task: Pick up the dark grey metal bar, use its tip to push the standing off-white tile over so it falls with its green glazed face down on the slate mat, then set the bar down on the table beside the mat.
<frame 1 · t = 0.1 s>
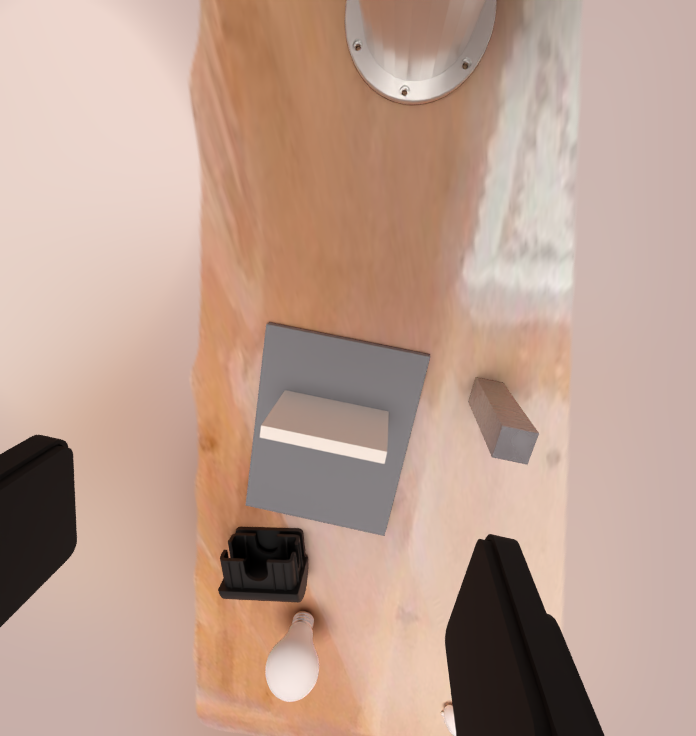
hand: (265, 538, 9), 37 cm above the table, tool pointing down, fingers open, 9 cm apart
tile: (335, 407, 47), point 1 cm above the table, touching mat
light bulb: (305, 612, 59), on the table
rabbit figurine: (460, 699, 62), on the table
metal bar: (485, 392, 46), on the table
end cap: (272, 547, 56), on the table
mat: (330, 433, 50), on the table
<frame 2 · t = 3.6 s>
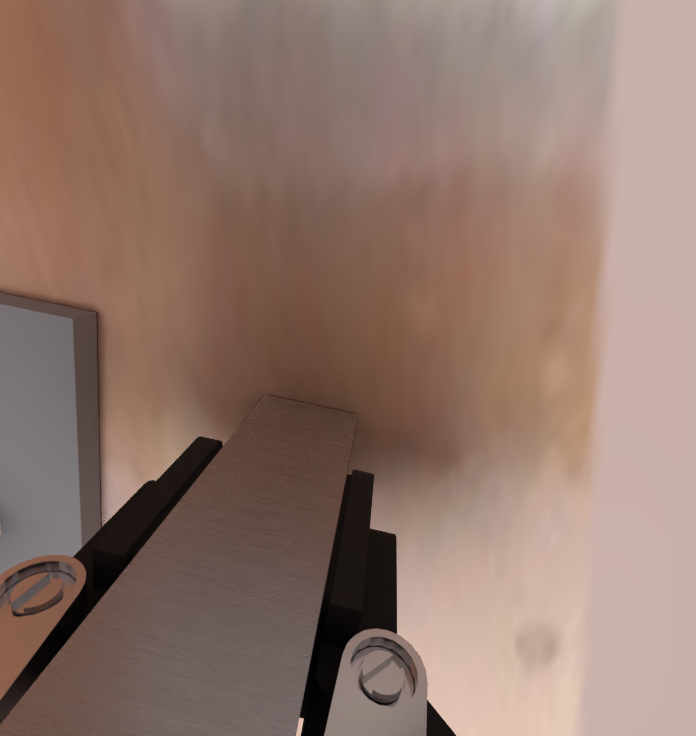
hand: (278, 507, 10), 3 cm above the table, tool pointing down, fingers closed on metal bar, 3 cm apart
metal bar: (304, 446, 13), on the table, touching gripper
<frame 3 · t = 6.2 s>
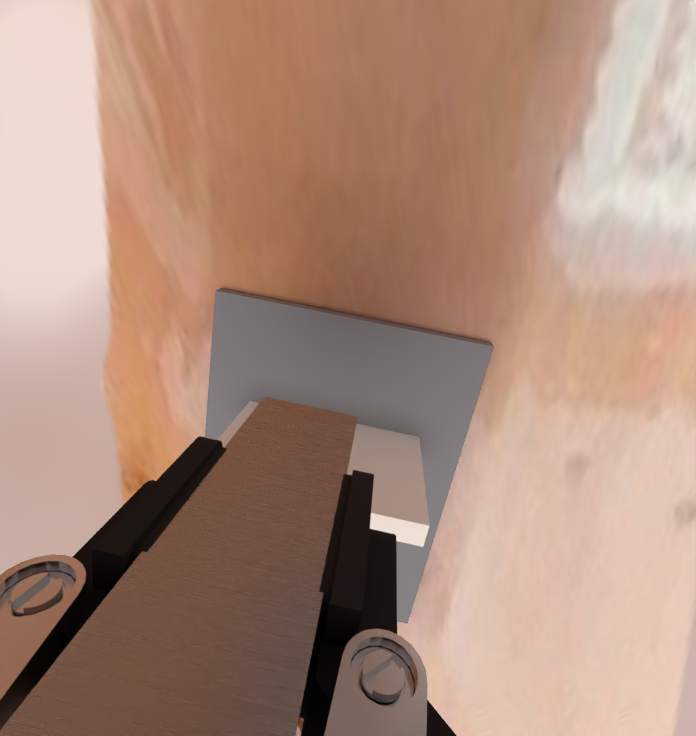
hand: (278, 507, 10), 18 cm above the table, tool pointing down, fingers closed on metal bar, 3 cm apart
tile: (331, 428, 29), point 1 cm above the table, touching mat
light bulb: (288, 717, 41), on the table
metal bar: (304, 448, 13), point 15 cm above the table, touching gripper
mat: (325, 469, 31), on the table
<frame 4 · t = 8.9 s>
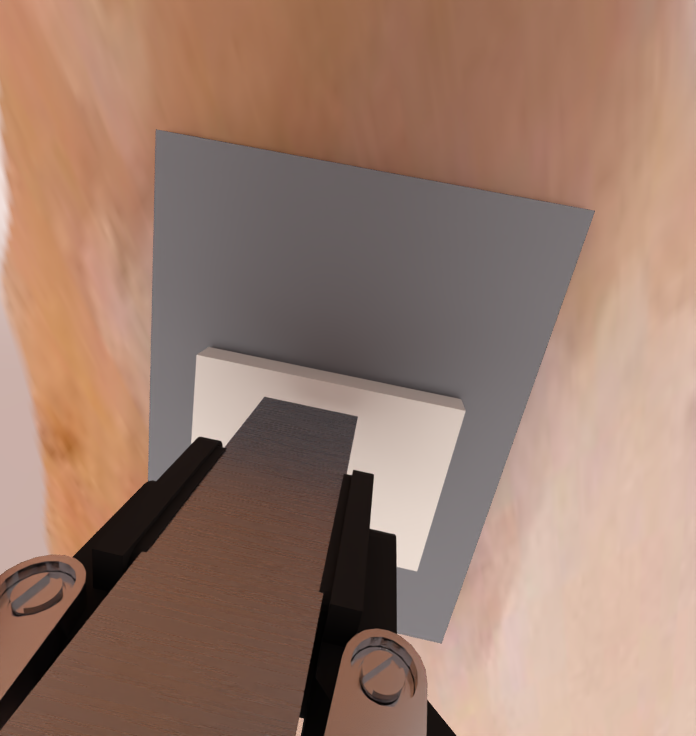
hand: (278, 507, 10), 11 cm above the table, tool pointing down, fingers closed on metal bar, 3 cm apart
tile: (331, 376, 19), point 2 cm above the table, tilted 90°, touching mat
metal bar: (304, 448, 13), point 8 cm above the table, touching gripper
mat: (326, 422, 22), on the table
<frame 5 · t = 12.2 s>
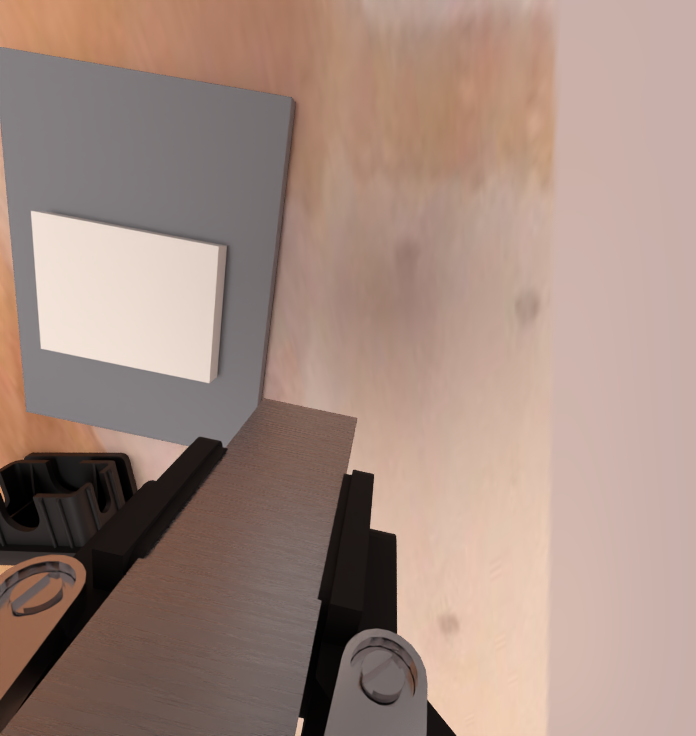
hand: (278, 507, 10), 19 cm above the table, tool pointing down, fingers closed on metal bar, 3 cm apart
tile: (131, 228, 26), point 2 cm above the table, tilted 90°, touching mat
metal bar: (303, 449, 14), point 16 cm above the table, touching gripper
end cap: (90, 487, 36), on the table
mat: (146, 277, 29), on the table
when the fingers open (4 cm above the table, at t = 15.4 s): metal bar stays where it is, on the table.
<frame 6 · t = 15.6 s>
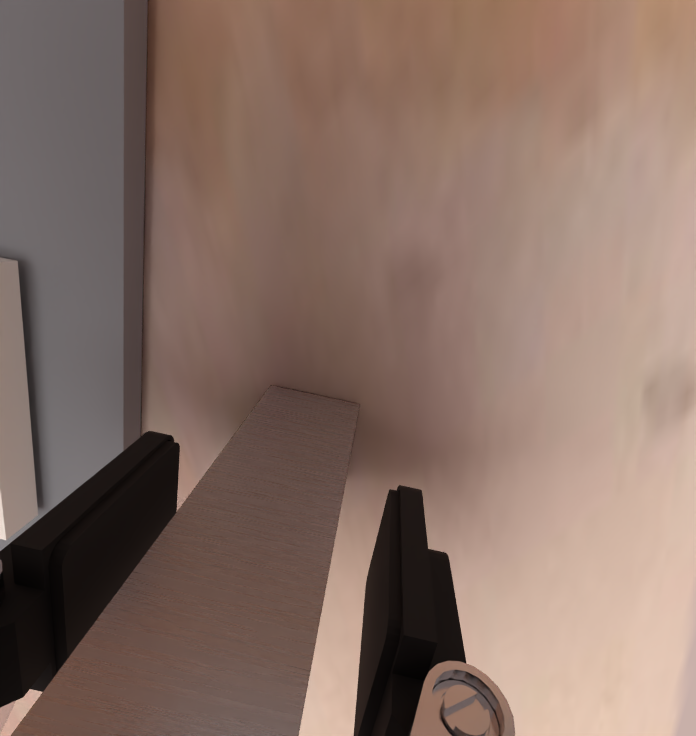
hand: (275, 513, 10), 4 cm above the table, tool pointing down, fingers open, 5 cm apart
metal bar: (308, 434, 14), on the table
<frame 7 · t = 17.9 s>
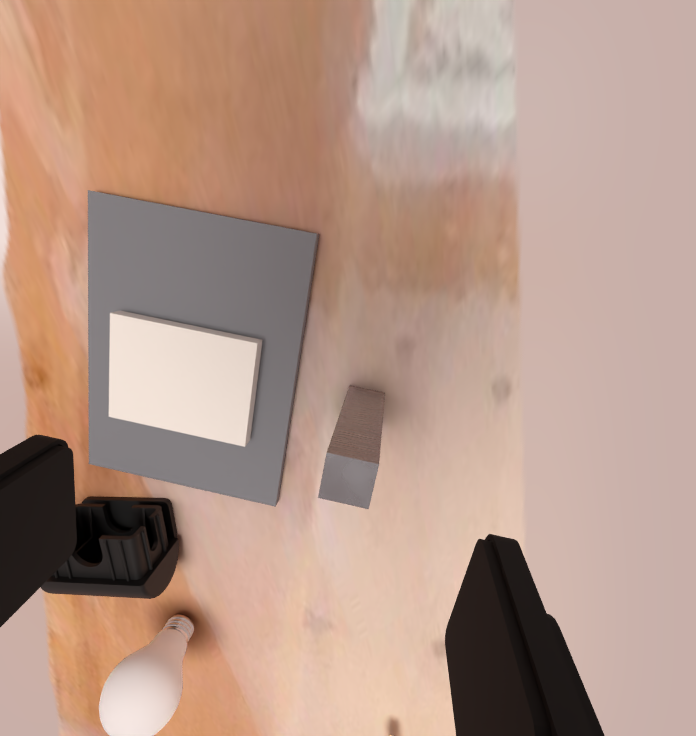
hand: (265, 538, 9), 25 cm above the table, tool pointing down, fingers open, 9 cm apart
tile: (187, 326, 33), point 2 cm above the table, tilted 90°, touching mat
light bulb: (185, 617, 44), on the table
metal bar: (363, 405, 35), on the table
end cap: (135, 526, 42), on the table
mat: (195, 358, 36), on the table
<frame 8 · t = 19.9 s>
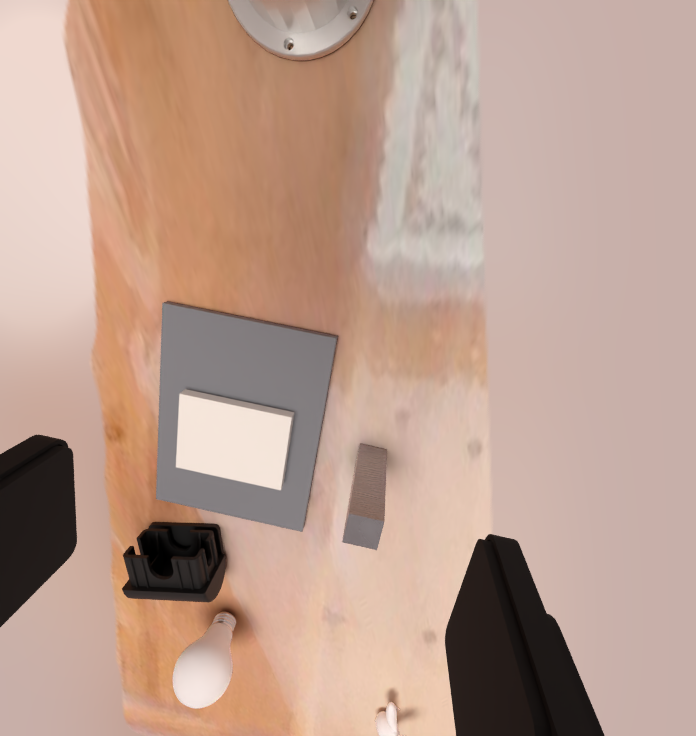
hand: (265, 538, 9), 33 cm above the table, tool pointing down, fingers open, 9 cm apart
tile: (237, 402, 44), point 2 cm above the table, tilted 90°, touching mat
light bulb: (228, 613, 56), on the table
rabbit figurine: (394, 705, 58), on the table
metal bar: (370, 458, 46), on the table
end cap: (190, 544, 53), on the table
mat: (241, 422, 47), on the table
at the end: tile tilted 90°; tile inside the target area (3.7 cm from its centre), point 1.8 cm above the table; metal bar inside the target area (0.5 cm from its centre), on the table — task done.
